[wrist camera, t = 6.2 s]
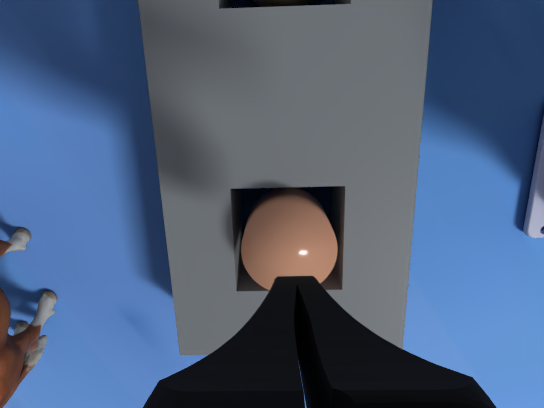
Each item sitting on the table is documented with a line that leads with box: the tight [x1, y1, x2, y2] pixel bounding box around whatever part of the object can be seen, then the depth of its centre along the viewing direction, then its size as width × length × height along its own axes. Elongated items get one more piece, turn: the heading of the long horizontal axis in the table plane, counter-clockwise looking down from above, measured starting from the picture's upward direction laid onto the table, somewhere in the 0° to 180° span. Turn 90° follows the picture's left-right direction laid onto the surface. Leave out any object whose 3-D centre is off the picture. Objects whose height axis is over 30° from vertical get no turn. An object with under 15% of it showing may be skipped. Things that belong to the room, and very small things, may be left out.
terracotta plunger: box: [241, 187, 338, 290], centre depth 18 cm, size 4×4×4 cm
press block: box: [138, 0, 433, 355], centre depth 17 cm, size 12×26×4 cm, turn 2°
